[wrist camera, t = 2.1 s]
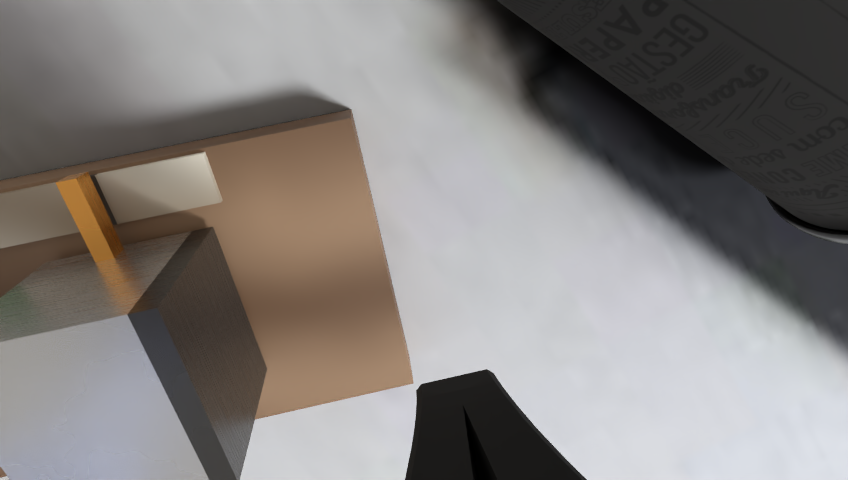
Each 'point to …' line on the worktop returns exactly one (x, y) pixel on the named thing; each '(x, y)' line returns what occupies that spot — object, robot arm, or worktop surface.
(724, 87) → the drinking cup
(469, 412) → the robot arm
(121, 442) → the gauge carriage
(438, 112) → the worktop surface
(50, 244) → the gauge board
